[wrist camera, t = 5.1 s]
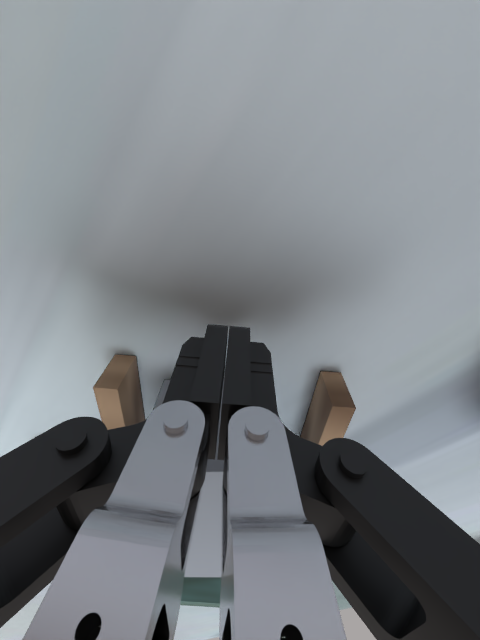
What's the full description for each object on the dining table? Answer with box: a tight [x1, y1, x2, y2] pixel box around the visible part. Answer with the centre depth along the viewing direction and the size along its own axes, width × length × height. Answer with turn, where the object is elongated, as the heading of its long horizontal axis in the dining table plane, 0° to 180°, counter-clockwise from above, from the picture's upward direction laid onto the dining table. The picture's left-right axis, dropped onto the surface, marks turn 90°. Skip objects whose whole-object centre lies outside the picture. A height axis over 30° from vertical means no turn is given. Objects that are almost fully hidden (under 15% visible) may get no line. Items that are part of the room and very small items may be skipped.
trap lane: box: [93, 354, 356, 607], centre depth 18 cm, size 24×22×3 cm
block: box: [153, 377, 225, 577], centre depth 15 cm, size 10×5×5 cm, turn 4°
